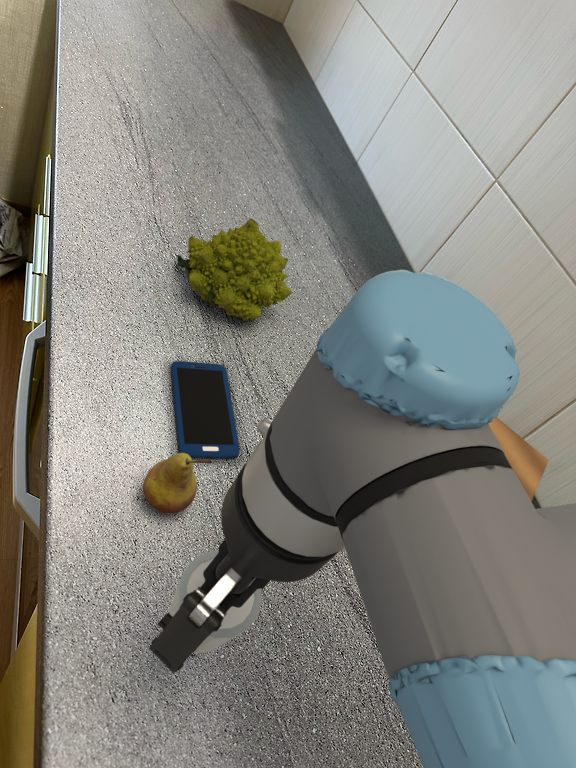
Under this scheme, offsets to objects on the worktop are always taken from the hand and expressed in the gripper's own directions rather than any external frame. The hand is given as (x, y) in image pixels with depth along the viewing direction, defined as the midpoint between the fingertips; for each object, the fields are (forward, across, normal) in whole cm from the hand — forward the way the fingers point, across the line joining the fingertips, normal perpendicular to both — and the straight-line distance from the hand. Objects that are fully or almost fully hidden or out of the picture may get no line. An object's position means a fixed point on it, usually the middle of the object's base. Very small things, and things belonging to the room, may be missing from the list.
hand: (199, 617), depth 50 cm
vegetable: (+6, -39, -27) cm, 48 cm away
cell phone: (+6, -21, -16) cm, 28 cm away
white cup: (+1, 0, 0) cm, 1 cm away
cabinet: (+7, -37, +15) cm, 41 cm away
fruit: (+7, -9, -11) cm, 16 cm away
